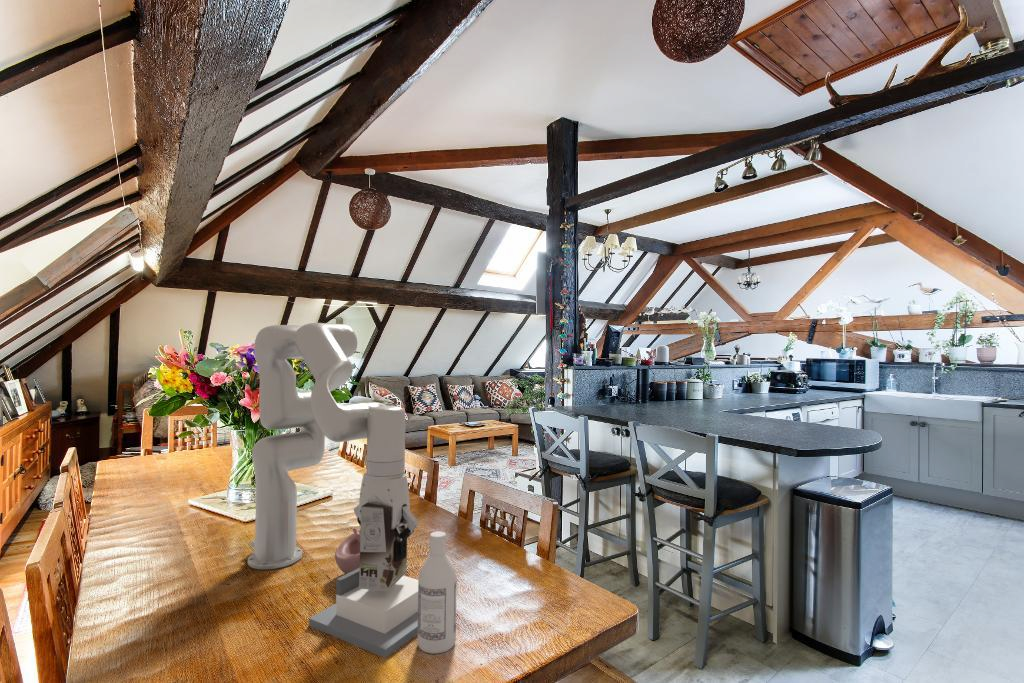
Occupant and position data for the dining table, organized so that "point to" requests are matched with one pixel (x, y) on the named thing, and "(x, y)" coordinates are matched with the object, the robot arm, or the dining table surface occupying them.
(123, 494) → the dining table surface
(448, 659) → the dining table surface
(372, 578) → the coffee box
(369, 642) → the display stand
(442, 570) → the bath foam
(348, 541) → the mortar and pestle
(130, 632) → the dining table surface
